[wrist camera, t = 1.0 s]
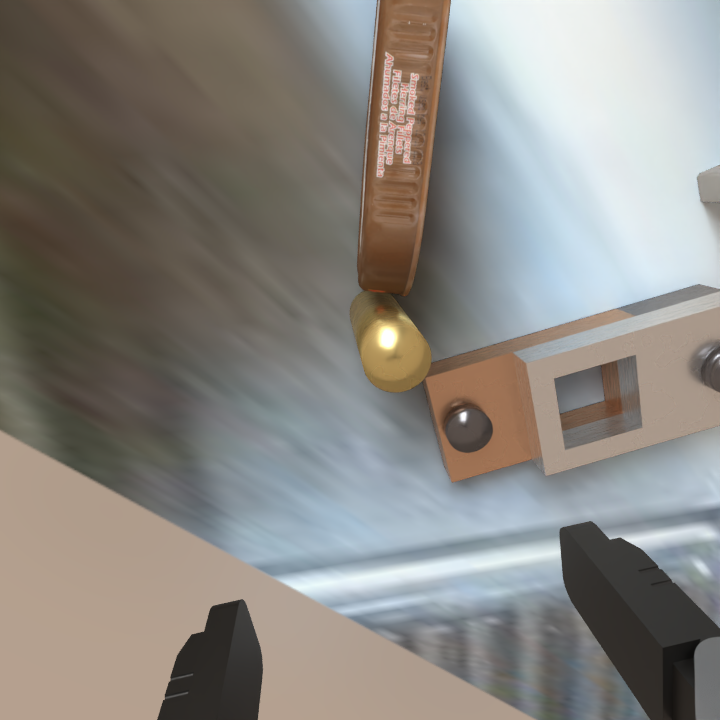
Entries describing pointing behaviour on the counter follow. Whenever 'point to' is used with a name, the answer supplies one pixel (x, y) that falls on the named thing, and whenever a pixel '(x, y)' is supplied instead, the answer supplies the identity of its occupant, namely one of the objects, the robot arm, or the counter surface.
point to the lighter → (709, 185)
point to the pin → (388, 342)
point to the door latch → (572, 354)
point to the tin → (399, 140)
